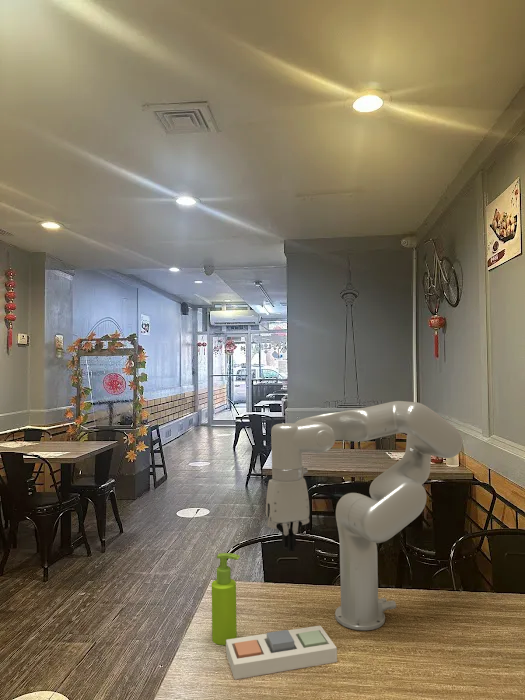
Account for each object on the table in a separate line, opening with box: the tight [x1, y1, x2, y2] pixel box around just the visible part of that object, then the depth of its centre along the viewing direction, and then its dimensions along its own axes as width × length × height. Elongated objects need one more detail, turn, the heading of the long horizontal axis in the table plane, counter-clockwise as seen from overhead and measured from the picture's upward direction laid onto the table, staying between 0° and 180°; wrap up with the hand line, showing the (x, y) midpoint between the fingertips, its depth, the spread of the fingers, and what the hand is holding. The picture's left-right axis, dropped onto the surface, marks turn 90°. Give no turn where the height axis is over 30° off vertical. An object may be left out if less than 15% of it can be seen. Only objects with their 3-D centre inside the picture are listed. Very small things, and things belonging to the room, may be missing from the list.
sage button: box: [298, 630, 326, 648], centre depth 113 cm, size 5×5×2 cm
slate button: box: [266, 629, 294, 653], centre depth 111 cm, size 5×5×2 cm
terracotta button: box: [234, 640, 262, 659], centre depth 109 cm, size 5×5×2 cm
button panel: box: [225, 625, 338, 680], centre depth 111 cm, size 23×10×3 cm, turn 104°
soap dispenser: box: [211, 552, 241, 646], centre depth 120 cm, size 6×7×20 cm
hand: (289, 549), depth 122 cm, fingers closed
